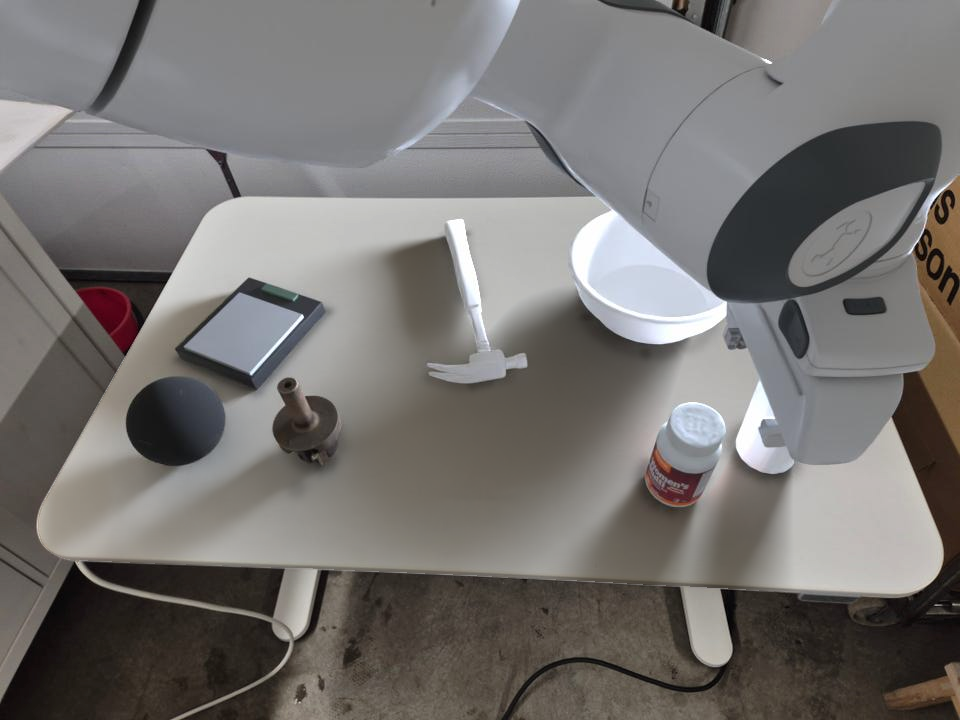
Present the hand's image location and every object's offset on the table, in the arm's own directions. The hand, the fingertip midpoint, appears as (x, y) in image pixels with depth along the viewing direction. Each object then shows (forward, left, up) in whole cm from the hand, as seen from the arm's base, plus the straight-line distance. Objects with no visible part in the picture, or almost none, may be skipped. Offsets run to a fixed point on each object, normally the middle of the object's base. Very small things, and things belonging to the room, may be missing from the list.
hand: (751, 388), depth 48 cm
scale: (+1, +60, -21) cm, 63 cm away
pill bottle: (+2, +3, -21) cm, 21 cm away
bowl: (+27, +13, -21) cm, 36 cm away
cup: (+10, -5, -21) cm, 24 cm away
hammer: (+18, +37, -21) cm, 46 cm away
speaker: (-16, +55, -21) cm, 61 cm away
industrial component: (-11, +41, -21) cm, 47 cm away
